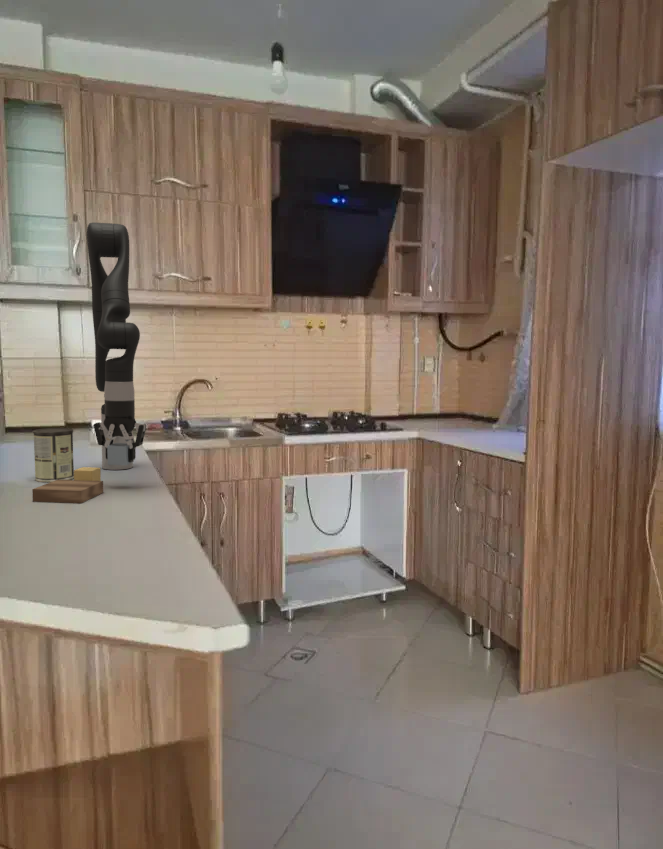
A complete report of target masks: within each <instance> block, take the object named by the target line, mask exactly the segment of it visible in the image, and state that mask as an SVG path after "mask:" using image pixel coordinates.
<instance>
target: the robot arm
mask: <svg viewBox="0 0 663 849" xmlns="http://www.w3.org/2000/svg"><path fill="white" fill-rule="evenodd" d="M86 246H87V251H88V252H87V253H88V262H89V270H90V280H91V283H90V284H91V309H92V310H91V311H92V321H93V322H92V323H93V333H94V344H95V347H94V348H95V349H94V352H95V353H94V354H95V362H94V363H95V364H94V365H95V368H94V369H95V373H94V374H95V386H96V389H97V390H98V391H99V392H102V393H104V394H103V398H104V404H102V405H101V407H100V422H95V423H93V424H92V425H93V430H94V433H95V434H94V435H95V438H96V441H97V442H96V443H97V444H98V446H101V468H102V469H104V470H108V471H109V470H113V471H114V470H115V471H116V470H117V471H118V470H128V469H132V468H133V467H134V464H133V463H134V460H136V458H137V457H136V450H137V447H140V446H142V445H143V443H144V439H145V435H146V431H147V430H146V429H147V424H146V423H142V424H141V423H139V422H137V421H136V418H135V417H136V416H135V414H136V413H135V412H136V411H135V409H136V408H135V406H136V405H135V386H134V385H135V384H134V361H135V356H136V352H137V349H138V345H139V343H140V338H141V333H140V332H141V331H140V329H139V327H138V325H136V324H135V323H134V322H127V320H126V319H128V318H129V317H130V315H131V305H130V295H129V294H130V293H129V276H130V275H129V274H130V236H129V232H128V228H127V226H125V224H122V223H110V222H109V223H108V222H90V223H89V224H87V227H86ZM101 258H115V259H116V258H117V261H116V264H115V266H114V267H113V269H112V270H111V271H110V273H109V274H108V273H107V272H106V270H105V268H104V266H103V263H102V261H101ZM111 350H125V351H124V353H123V355H121V356H119V357H118V356H117V357H113V358H108V355H109V353H110V351H111ZM107 358H108V359H107ZM134 429H135V430H136V432H137V433H136V437H135V436H134V432H133V430H134ZM114 443H127V445H128V447H129V449H128V462H132V463H130V464H128V465H108V453H107V446H109V445H111V444H114Z"/></svg>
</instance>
